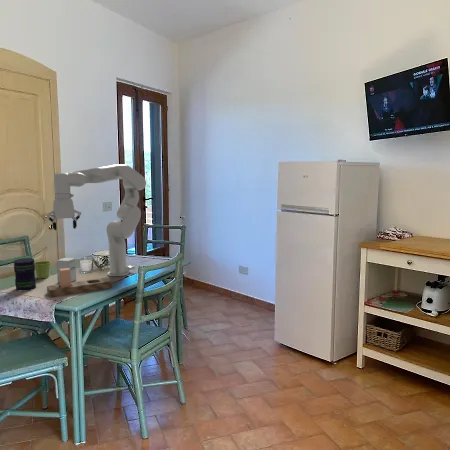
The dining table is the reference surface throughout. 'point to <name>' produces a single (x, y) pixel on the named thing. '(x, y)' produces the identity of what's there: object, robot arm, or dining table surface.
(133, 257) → the dining table surface
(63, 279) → the peg
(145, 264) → the dining table surface
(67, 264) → the supplement box
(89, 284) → the rail
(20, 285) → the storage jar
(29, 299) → the dining table surface
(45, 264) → the plant pot
